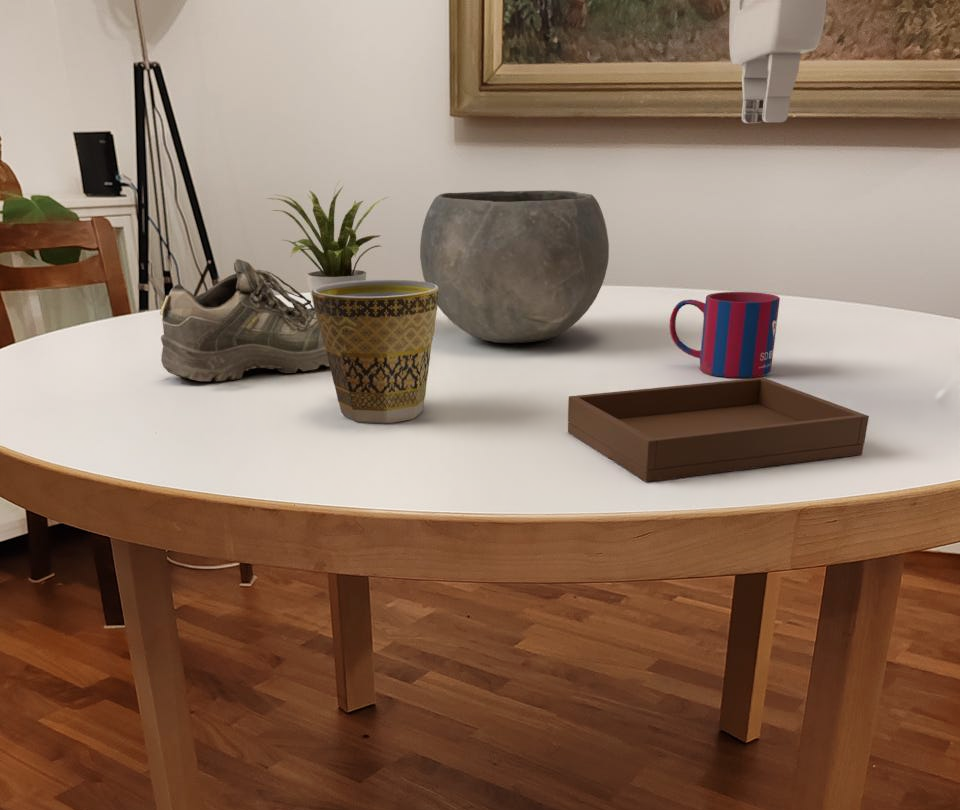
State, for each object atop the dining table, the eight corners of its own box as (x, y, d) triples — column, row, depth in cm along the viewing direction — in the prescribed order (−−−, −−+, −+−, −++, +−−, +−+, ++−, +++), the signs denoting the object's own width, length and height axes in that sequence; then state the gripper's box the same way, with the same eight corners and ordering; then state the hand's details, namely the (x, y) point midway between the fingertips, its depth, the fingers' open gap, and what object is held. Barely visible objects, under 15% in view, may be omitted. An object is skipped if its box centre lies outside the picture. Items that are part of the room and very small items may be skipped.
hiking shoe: (391, 342, 98) (345, 227, 97) (192, 395, 89) (139, 269, 88) (360, 374, 106) (318, 268, 105) (175, 425, 97) (127, 310, 96)
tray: (758, 411, 81) (763, 377, 80) (862, 454, 70) (869, 415, 69) (567, 432, 76) (568, 396, 75) (645, 482, 65) (648, 440, 64)
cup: (758, 381, 91) (767, 304, 88) (657, 370, 95) (662, 297, 92) (779, 367, 96) (788, 294, 93) (681, 358, 100) (687, 287, 97)
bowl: (397, 353, 104) (389, 199, 98) (456, 321, 122) (453, 188, 115) (585, 362, 99) (591, 199, 92) (619, 327, 117) (626, 188, 110)
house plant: (246, 334, 116) (228, 182, 108) (308, 315, 127) (295, 176, 120) (352, 341, 111) (341, 182, 103) (407, 321, 122) (400, 176, 115)
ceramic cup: (464, 417, 81) (461, 289, 76) (354, 436, 76) (344, 301, 71) (391, 387, 91) (385, 272, 86) (290, 402, 86) (277, 282, 81)
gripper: (864, -109, 67) (832, 121, 73) (797, -58, 85) (776, 123, 91) (769, -107, 67) (746, 122, 73) (723, -57, 85) (707, 123, 91)
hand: (762, 123), depth 82 cm, fingers open, 8 cm apart
